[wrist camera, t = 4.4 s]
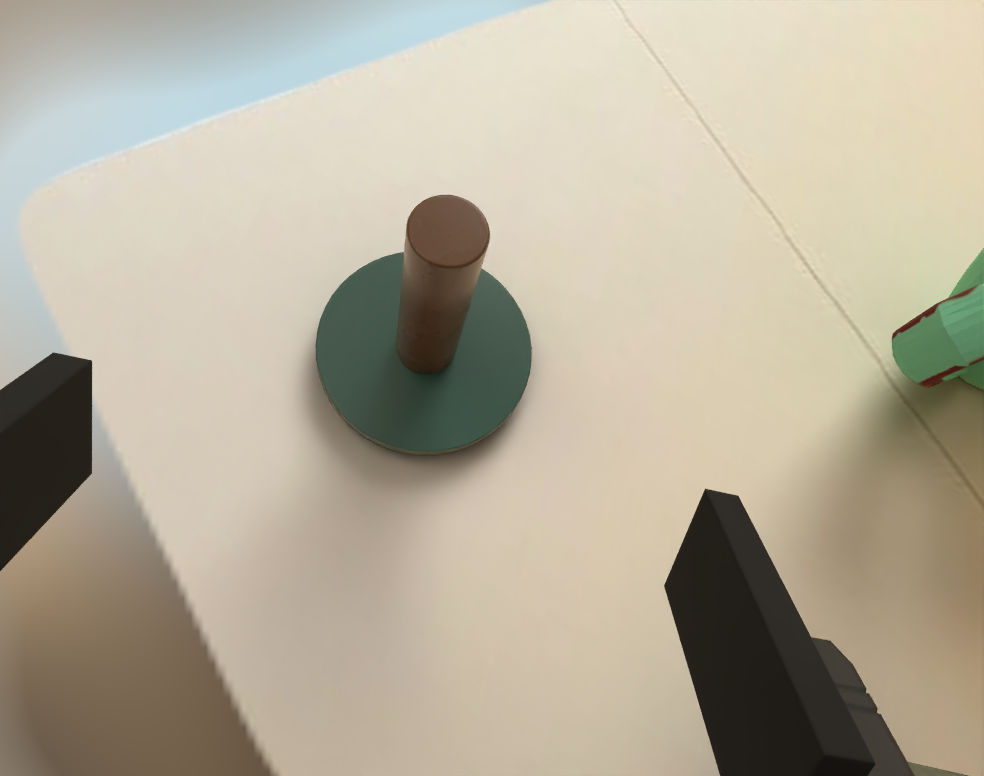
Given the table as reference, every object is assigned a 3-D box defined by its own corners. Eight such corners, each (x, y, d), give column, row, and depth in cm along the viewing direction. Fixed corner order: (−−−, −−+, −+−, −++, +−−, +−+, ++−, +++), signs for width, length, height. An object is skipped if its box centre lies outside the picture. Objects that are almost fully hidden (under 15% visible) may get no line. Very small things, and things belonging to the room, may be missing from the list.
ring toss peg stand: (330, 473, 29) (311, 390, 19) (306, 273, 31) (279, 111, 22) (544, 442, 30) (624, 352, 21) (505, 255, 33) (561, 98, 23)
